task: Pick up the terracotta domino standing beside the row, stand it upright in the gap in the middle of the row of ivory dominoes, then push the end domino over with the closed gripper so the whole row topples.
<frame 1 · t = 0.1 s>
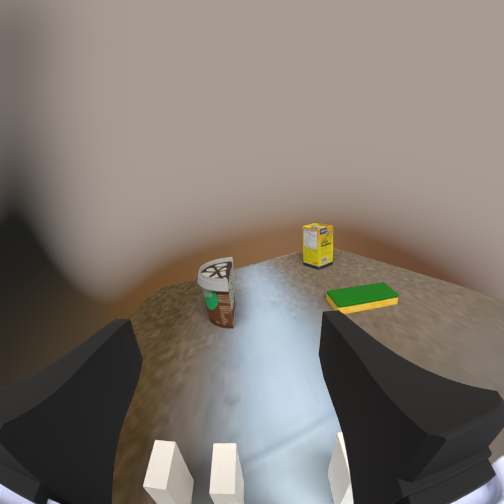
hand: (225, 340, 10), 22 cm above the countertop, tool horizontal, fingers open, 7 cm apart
dish sponge: (362, 304, 57), on the countertop
domino 4: (340, 490, 19), on the countertop
food container: (219, 317, 56), on the countertop
supplement box: (318, 265, 80), on the countertop
domino 1: (182, 499, 19), on the countertop
domino 2: (234, 501, 19), on the countertop
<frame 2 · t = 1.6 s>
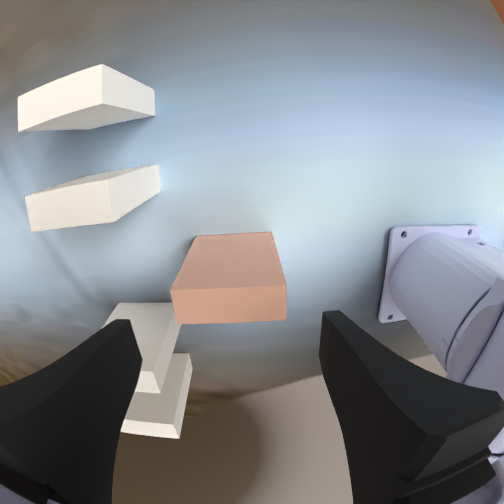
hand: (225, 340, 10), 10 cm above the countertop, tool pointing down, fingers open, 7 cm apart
domino 4: (125, 182, 18), on the countertop
domino 1: (162, 360, 23), on the countertop
domino 2: (149, 312, 21), on the countertop
domino 5: (119, 109, 16), on the countertop
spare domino: (234, 246, 20), on the countertop
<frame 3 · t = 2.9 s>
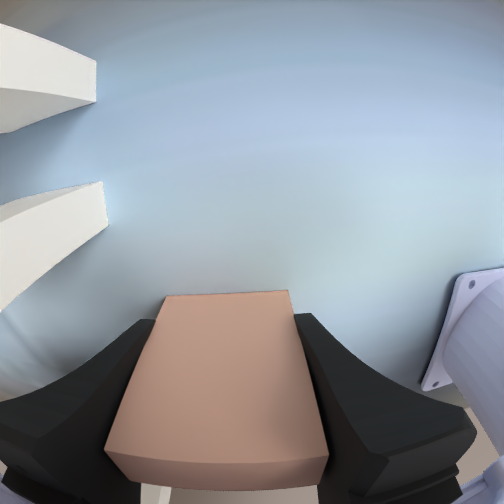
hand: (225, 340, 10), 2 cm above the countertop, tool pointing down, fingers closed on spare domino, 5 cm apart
domino 4: (58, 210, 10), on the countertop
domino 1: (140, 433, 16), on the countertop
domino 5: (48, 97, 9), on the countertop
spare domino: (228, 312, 12), on the countertop, touching gripper
when the fingers open (3 cm above the countertop, at t = 6.6 s): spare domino drops 1 cm, on the countertop.
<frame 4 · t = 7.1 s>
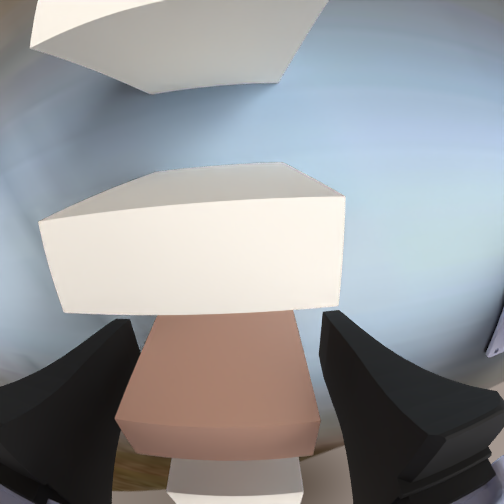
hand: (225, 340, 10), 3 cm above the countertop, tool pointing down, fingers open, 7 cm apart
domino 4: (219, 187, 11), on the countertop
domino 2: (237, 377, 15), on the countertop
domino 5: (212, 65, 10), on the countertop
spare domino: (228, 299, 13), on the countertop
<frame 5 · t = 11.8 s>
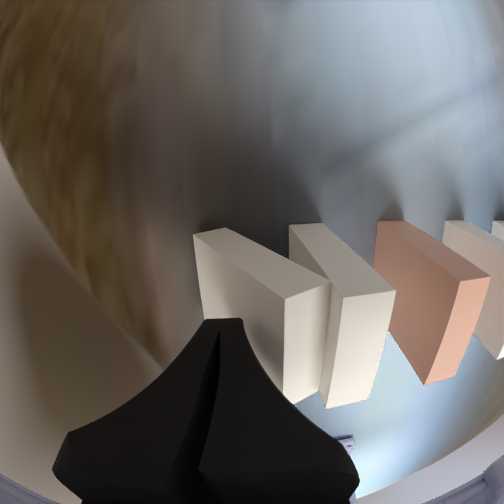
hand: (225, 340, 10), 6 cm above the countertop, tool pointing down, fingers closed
domino 4: (449, 257, 16), on the countertop
domino 1: (214, 276, 15), on the countertop, tilted 29°
domino 2: (305, 268, 16), on the countertop
domino 5: (493, 253, 16), on the countertop
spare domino: (386, 262, 16), on the countertop
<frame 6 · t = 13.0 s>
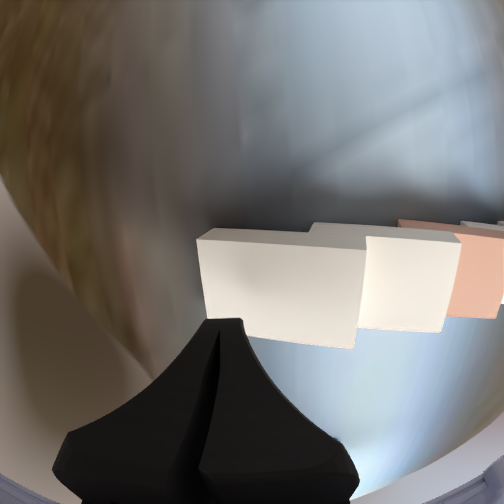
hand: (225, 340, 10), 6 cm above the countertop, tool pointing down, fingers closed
domino 1: (210, 279, 15), point 1 cm above the countertop, tilted 69°
domino 2: (310, 273, 15), point 1 cm above the countertop, tilted 69°, touching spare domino
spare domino: (394, 265, 15), point 1 cm above the countertop, tilted 69°, touching domino 2
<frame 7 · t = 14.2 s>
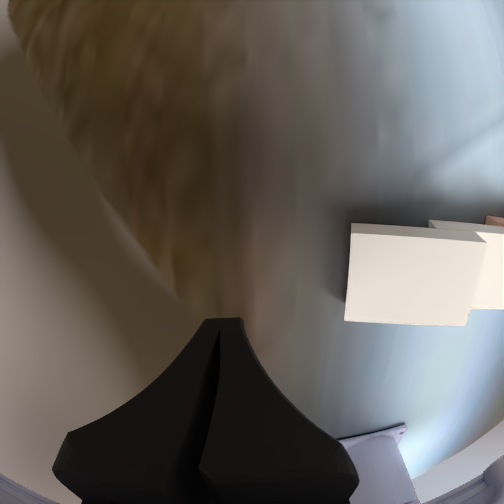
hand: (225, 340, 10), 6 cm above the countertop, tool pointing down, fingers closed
domino 1: (348, 272, 15), point 1 cm above the countertop, tilted 70°, touching domino 2
domino 2: (427, 264, 15), point 1 cm above the countertop, tilted 70°, touching domino 1, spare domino
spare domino: (485, 253, 15), point 1 cm above the countertop, tilted 70°, touching domino 2, domino 4
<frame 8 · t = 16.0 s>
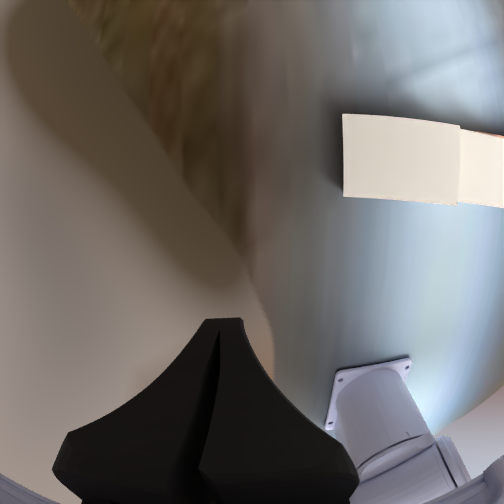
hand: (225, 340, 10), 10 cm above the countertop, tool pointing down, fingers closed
domino 1: (343, 154, 17), point 1 cm above the countertop, tilted 71°, touching domino 2
domino 2: (415, 158, 17), point 1 cm above the countertop, tilted 72°, touching domino 1, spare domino
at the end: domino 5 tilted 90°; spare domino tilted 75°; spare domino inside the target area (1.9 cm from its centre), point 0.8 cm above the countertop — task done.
